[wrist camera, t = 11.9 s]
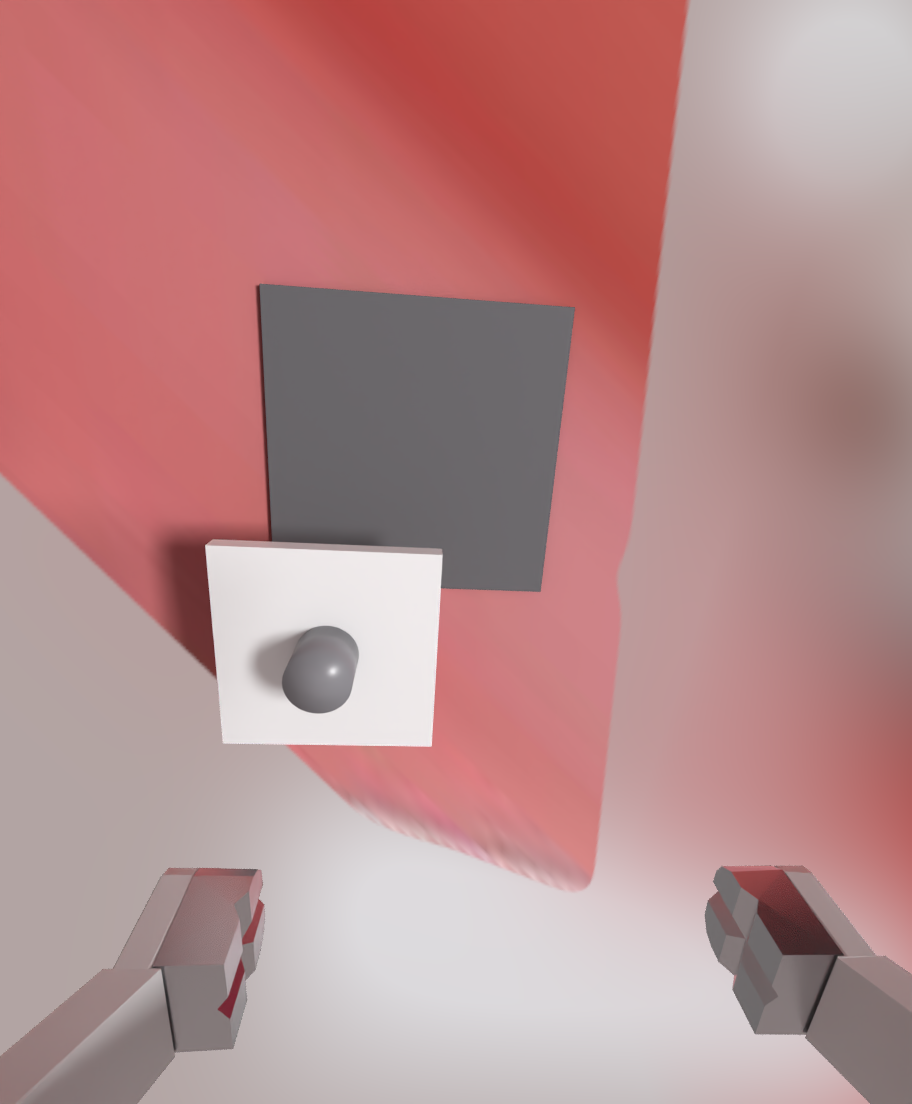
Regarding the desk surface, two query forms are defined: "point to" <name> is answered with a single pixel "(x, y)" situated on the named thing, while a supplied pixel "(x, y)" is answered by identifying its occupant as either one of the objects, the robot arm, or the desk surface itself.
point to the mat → (416, 426)
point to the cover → (324, 642)
